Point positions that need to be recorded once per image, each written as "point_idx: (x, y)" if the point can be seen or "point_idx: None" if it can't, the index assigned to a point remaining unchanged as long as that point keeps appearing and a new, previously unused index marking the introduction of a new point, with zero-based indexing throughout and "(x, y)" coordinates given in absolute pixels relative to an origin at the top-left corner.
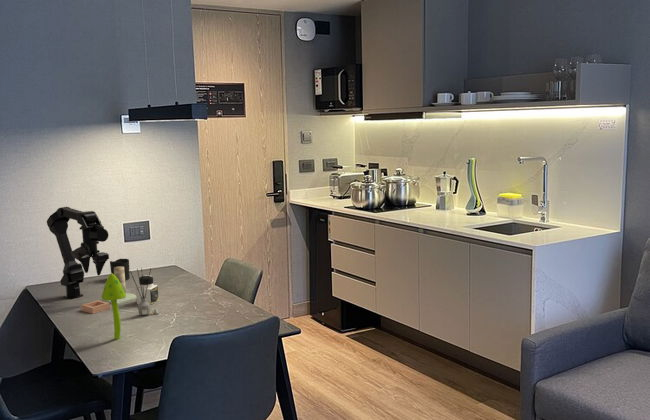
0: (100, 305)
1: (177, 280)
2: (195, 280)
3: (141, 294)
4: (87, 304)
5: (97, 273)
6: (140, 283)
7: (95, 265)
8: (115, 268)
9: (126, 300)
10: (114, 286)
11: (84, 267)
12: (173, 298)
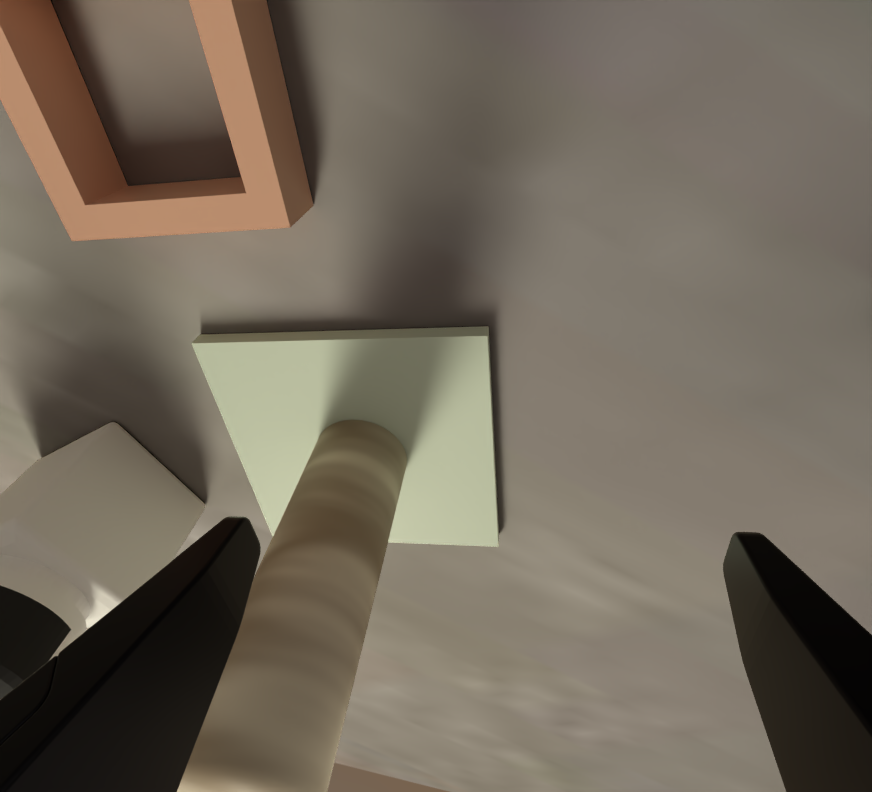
0: (11, 105)
1: (481, 757)
2: (398, 768)
3: (21, 496)
4: (195, 10)
5: (200, 544)
6: None
7: (19, 768)
8: (211, 765)
9: (229, 425)
10: None
11: (817, 673)
12: None
